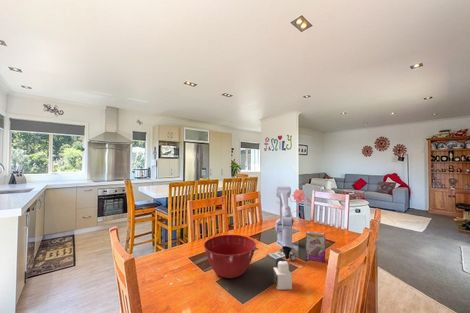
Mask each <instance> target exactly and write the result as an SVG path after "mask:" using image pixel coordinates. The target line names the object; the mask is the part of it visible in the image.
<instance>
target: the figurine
mask: <svg viewBox="0 0 470 313" xmlns="http://www.w3.org/2000/svg"><path fill="white" fill-rule="evenodd" d="M292 197H293V200H292V199H291V198H290V197H288V199H289V202H291V203H293V202H294V203H297V204H298V206H297V208H296V209H295V210H294V211H293V212H292V211H291V214H293V213H294V212H298V213H300V214H302V217H301V219H303V213H302V212H301V211H300V209H299V206H300V205H302V204H303V203H304V202H305V200H306V201H307V202H308V203H310V204H312V201H311V200H310V199H309V197H306V194H305V193H304V190H302V189H297V188H296V189H295V190H294V191H293V194H292ZM294 222H295V219H294V218H293V224H295V223H296V222H295V223H294ZM305 224H306V223H305V222H304V221H303V220H300V227H302V226H304V225H305ZM305 226H306V225H305Z"/></svg>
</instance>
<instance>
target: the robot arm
mask: <svg viewBox="0 0 470 313" xmlns="http://www.w3.org/2000/svg"><path fill="white" fill-rule="evenodd" d="M291 194H292V189H291V187H290V186H276V187H275V195H276V197H277V198H278V200H279V219H276V220H275V232H276V233H277V237H276V238H277V240H276V243H274V244H275V245H276V246H278V247H280V248H282V249H283V250H284V253H285V258H284V259H285V260H289V259H290V258H289V254H290V251H291V252H292V250H295V252H296V251H297V252H298V251H299V249H300V248H299V245H296V244H294V243H293V226H294V223H293V219H294V218H293V214H292V210H291V209H292V208H291V206H290V205H289V198H291ZM288 197H289V198H288ZM282 246H283V247H282ZM282 249H281V250H282Z"/></svg>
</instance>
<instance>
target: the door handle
mask: <svg viewBox="0 0 470 313" xmlns="http://www.w3.org/2000/svg"><path fill="white" fill-rule="evenodd" d="M282 247H283V246H282ZM282 247H281V248H282ZM281 250H282V252H284V250H283V249H281ZM289 259H290V260H292V261H293V260H294V261H295V260H296V255H295V253H293V251H292V250H291V251H290V254H289Z"/></svg>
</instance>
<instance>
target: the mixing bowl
mask: <svg viewBox="0 0 470 313" xmlns="http://www.w3.org/2000/svg"><path fill="white" fill-rule="evenodd" d="M203 248H204V249H205V250H204V251H205V254H206V255H205V256H206V257H207V260H208V263H209V265H210V267H211V268H212V270H213V272H214V273H215V274H216V275H218V276H219V277H221V278H225V279H234V278H239V277H240V276H242V275H243V274H245V272H246V271H247V270H248V268H249V266H250V264H251V261H252V259H253V257H254V253H255V249H256V248H257V243H256V241H255V240H254V239H252V238H250V237H248V236H245V235H239V234H222V235H217V236H213V237H210V238H209V239H207V240H205V241H204V243H203Z"/></svg>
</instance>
